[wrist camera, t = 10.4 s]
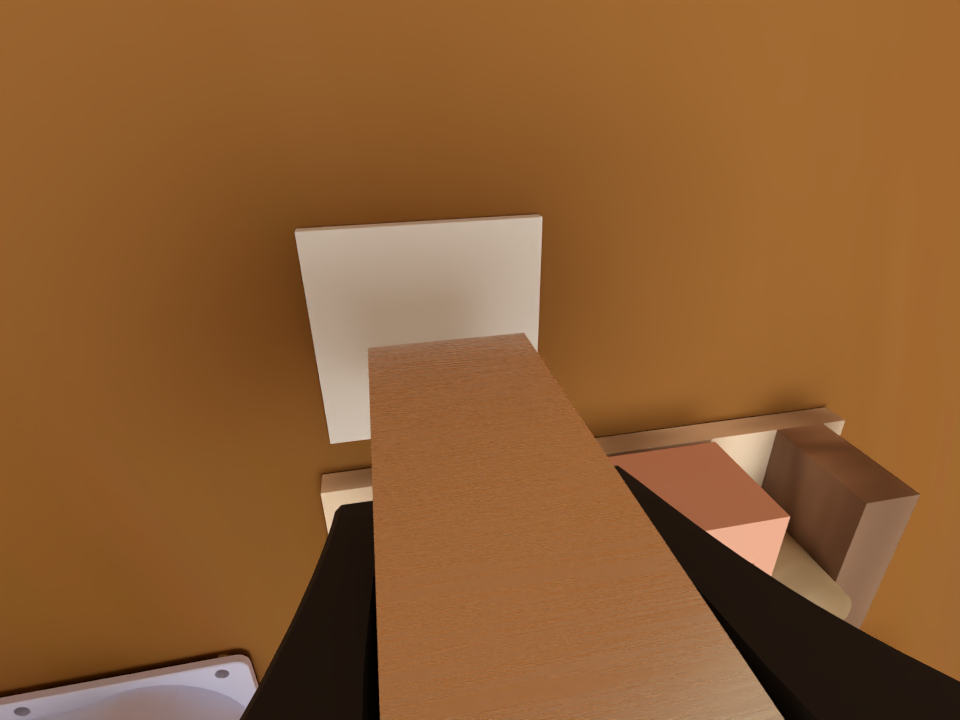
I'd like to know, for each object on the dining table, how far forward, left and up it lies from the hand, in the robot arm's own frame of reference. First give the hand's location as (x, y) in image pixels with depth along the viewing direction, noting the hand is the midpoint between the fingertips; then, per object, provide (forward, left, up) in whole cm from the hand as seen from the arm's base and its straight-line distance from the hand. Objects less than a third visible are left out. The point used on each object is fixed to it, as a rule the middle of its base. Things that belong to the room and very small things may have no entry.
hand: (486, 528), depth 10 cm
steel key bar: (0, 0, -4) cm, 4 cm away
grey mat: (0, 0, -9) cm, 9 cm away
